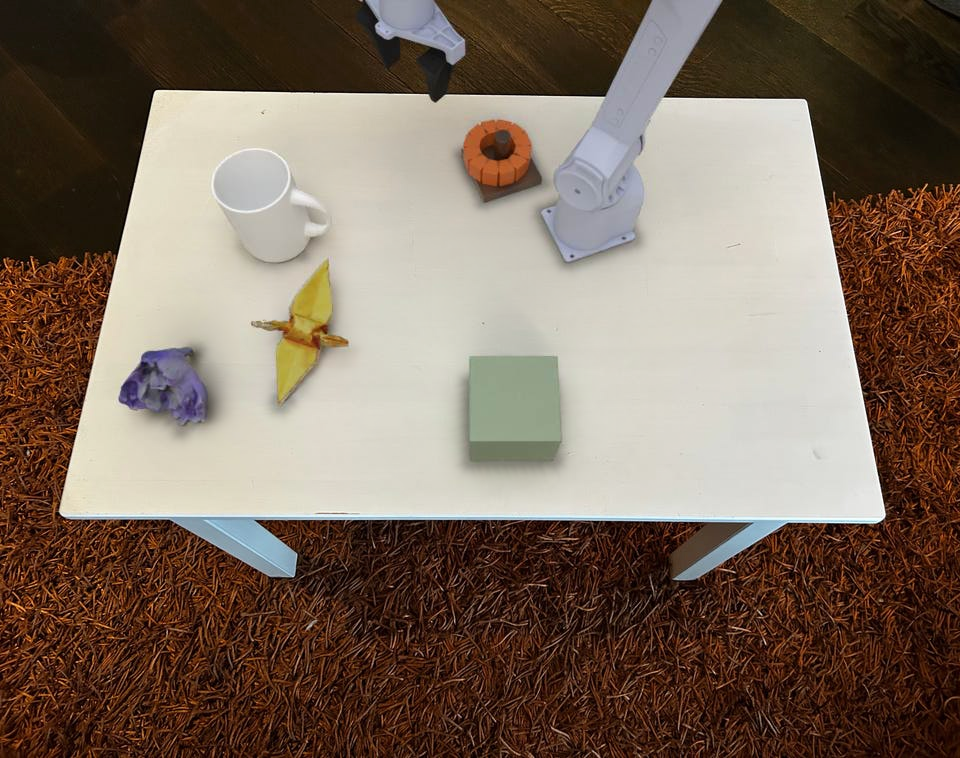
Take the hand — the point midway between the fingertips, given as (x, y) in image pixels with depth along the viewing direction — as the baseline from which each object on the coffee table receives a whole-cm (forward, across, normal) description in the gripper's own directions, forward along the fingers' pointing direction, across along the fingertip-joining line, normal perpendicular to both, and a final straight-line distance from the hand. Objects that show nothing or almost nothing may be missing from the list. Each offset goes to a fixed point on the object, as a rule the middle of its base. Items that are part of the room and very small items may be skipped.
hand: (415, 79), depth 76 cm
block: (+10, +34, -21) cm, 41 cm away
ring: (+9, +10, +4) cm, 14 cm away
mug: (+11, -2, -22) cm, 24 cm away
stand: (+10, +11, +4) cm, 15 cm away
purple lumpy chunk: (+11, +4, -43) cm, 45 cm away
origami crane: (+11, +10, -30) cm, 33 cm away
